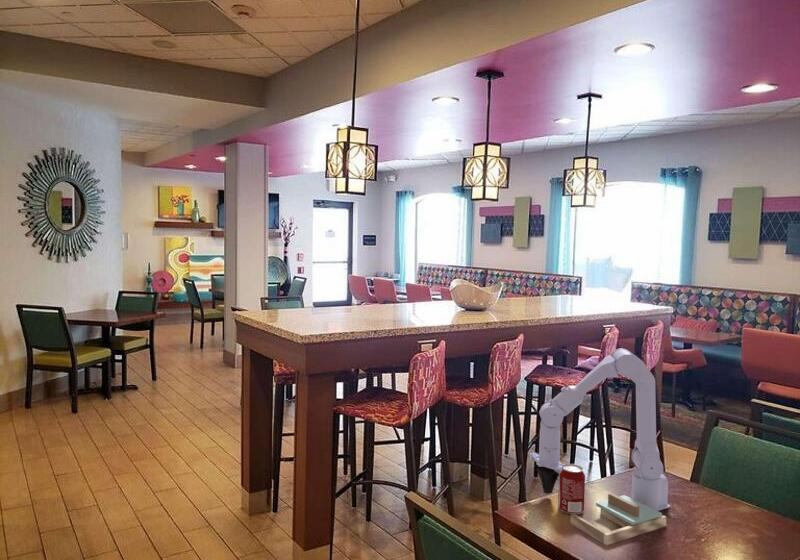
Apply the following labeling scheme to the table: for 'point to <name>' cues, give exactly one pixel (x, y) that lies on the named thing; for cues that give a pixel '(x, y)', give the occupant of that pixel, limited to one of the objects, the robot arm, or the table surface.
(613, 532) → the wooden frame
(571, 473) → the soda can
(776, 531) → the table surface
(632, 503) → the lid
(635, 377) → the robot arm
